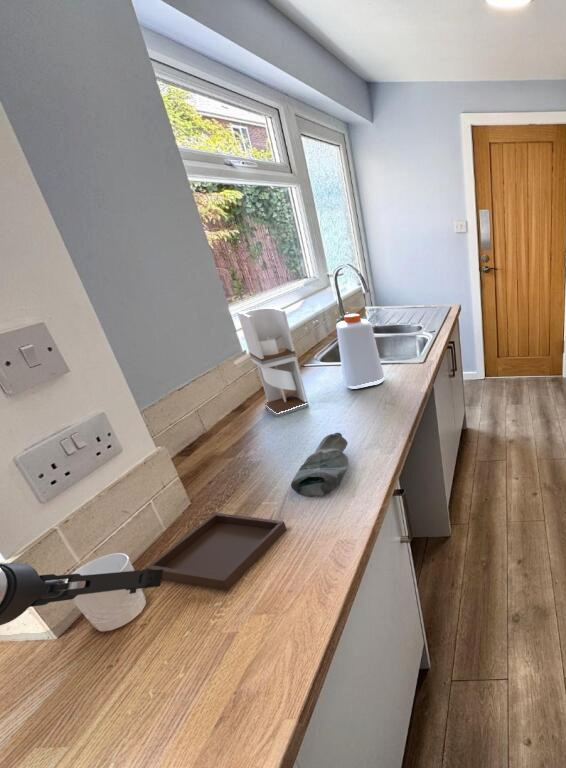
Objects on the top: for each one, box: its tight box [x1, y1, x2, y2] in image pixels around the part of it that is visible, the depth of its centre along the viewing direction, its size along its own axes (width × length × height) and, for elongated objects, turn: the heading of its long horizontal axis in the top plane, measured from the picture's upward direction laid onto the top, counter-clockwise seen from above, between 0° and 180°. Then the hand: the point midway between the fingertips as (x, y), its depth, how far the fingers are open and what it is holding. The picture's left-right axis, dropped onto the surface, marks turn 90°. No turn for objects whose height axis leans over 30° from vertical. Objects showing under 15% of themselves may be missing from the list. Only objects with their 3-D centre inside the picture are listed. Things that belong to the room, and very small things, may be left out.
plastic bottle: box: [335, 313, 385, 386], centre depth 160 cm, size 15×15×28 cm
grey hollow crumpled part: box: [290, 432, 349, 498], centre depth 107 cm, size 13×7×25 cm
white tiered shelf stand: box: [237, 306, 309, 418], centre depth 139 cm, size 11×11×35 cm
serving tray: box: [145, 512, 287, 591], centre depth 82 cm, size 18×16×2 cm
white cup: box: [64, 552, 147, 632], centre depth 68 cm, size 8×8×10 cm
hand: (116, 583), depth 70 cm, fingers open, 13 cm apart
